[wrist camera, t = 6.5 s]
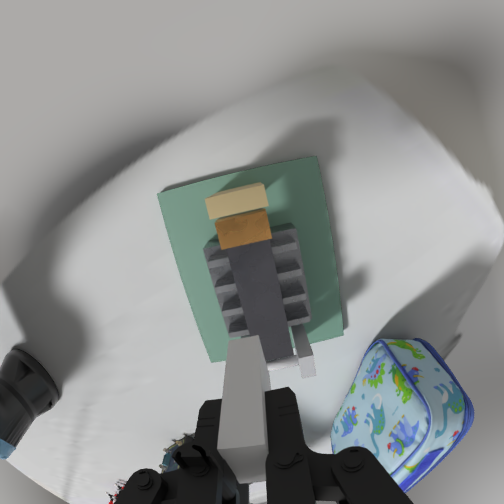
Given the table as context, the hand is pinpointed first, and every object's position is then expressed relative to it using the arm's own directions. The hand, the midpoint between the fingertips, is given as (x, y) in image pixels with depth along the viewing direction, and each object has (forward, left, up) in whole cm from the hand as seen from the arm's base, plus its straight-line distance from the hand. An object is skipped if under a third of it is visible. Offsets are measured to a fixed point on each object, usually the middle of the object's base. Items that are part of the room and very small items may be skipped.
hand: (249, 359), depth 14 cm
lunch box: (+14, -29, -22) cm, 39 cm away
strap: (0, -2, -14) cm, 14 cm away
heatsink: (0, -3, -21) cm, 21 cm away
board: (0, -3, -22) cm, 22 cm away
